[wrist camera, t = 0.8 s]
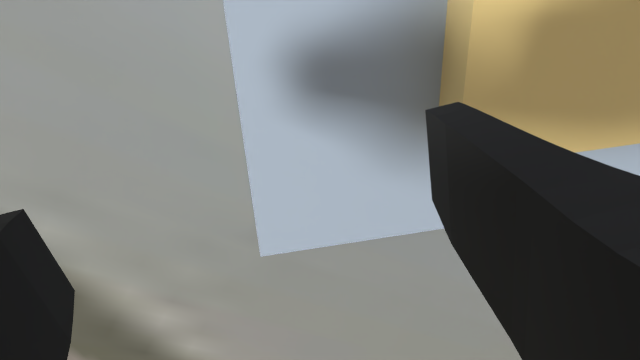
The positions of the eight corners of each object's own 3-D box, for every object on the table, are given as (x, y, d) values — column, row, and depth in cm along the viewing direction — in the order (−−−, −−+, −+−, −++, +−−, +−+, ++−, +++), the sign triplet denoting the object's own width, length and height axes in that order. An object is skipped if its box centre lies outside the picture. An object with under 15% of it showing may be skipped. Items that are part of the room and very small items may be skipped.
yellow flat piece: (706, -66, 17) (754, -53, 15) (648, 112, 20) (683, 137, 19) (450, -41, 16) (476, -25, 14) (435, 141, 19) (455, 169, 18)
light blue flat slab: (719, -229, 16) (777, -232, 14) (602, 172, 24) (631, 199, 22) (195, -199, 14) (194, -198, 13) (256, 223, 22) (260, 256, 21)
